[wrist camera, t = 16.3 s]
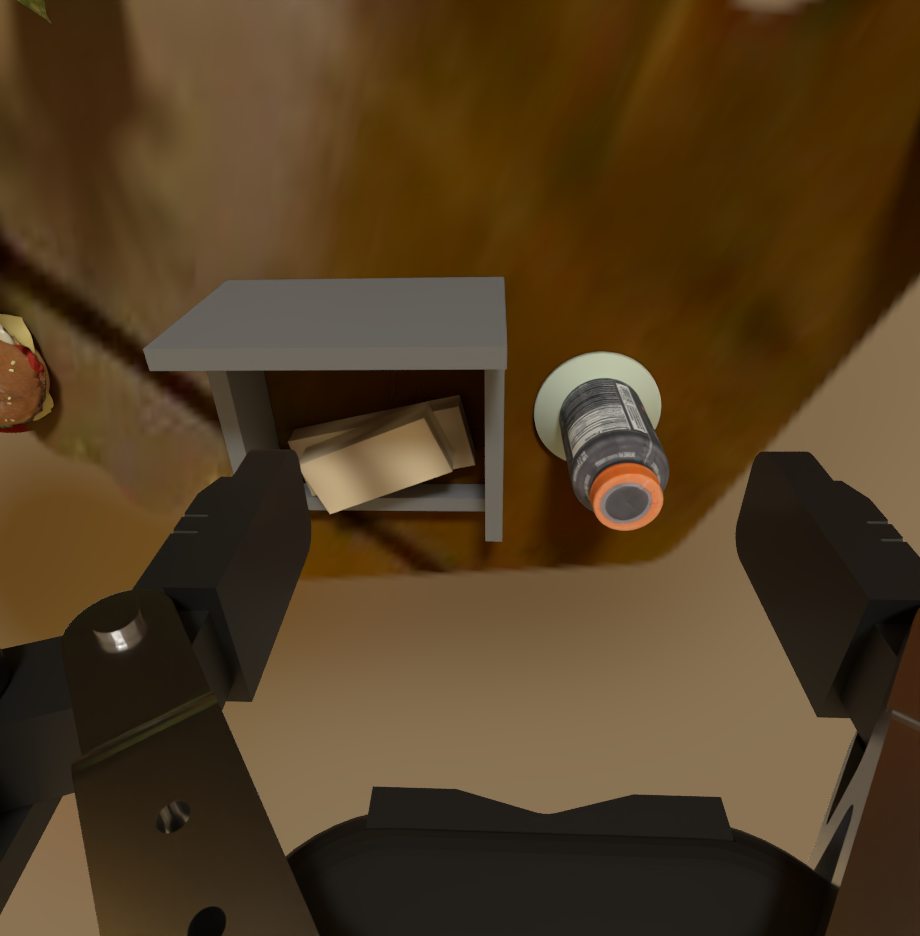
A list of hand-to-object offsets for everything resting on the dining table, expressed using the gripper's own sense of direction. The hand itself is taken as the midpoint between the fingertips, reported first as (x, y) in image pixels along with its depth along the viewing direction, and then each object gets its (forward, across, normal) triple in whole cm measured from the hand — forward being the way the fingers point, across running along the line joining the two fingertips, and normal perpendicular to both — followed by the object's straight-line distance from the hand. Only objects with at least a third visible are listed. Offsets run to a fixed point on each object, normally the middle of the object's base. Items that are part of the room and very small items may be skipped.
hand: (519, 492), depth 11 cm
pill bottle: (+32, -7, +15) cm, 36 cm away
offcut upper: (+30, +9, +17) cm, 36 cm away
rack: (+32, +9, +14) cm, 36 cm away
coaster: (+32, -7, +15) cm, 36 cm away
